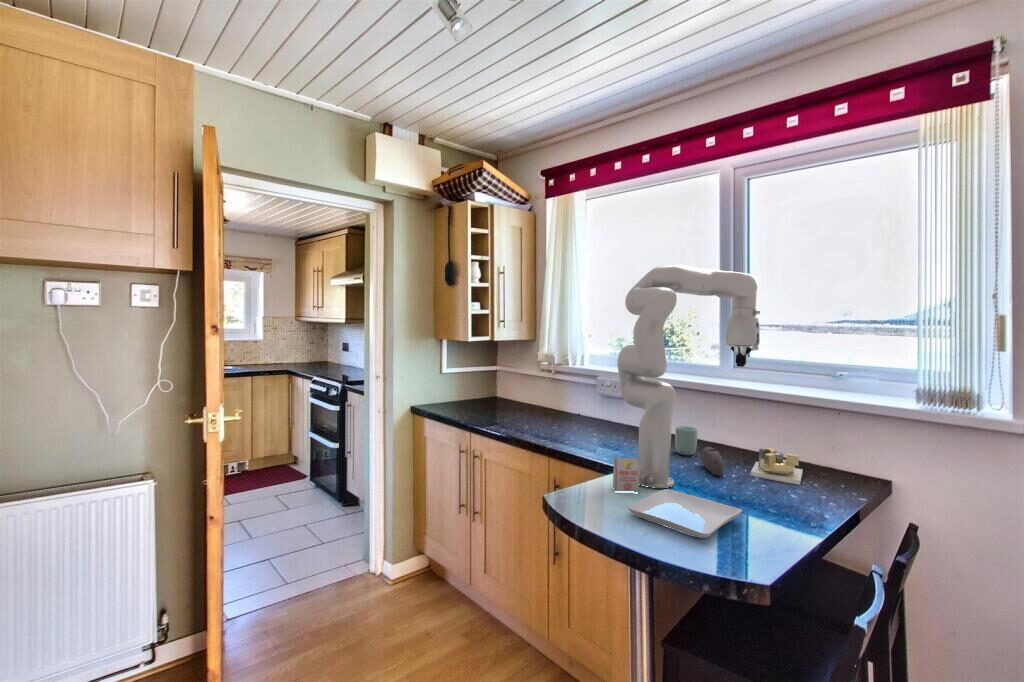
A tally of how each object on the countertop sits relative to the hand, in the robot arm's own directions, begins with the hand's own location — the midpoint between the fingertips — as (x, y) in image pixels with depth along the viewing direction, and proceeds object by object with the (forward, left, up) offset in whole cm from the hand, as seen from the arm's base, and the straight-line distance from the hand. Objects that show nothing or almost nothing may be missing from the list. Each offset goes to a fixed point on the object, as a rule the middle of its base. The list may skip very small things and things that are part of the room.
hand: (740, 366), depth 168 cm
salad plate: (-59, +3, -36) cm, 69 cm away
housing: (-2, -13, -35) cm, 37 cm away
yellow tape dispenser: (-3, -13, -33) cm, 36 cm away
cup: (+4, +18, -35) cm, 40 cm away
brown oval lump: (-12, +5, -36) cm, 38 cm away
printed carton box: (-49, +22, -35) cm, 64 cm away
